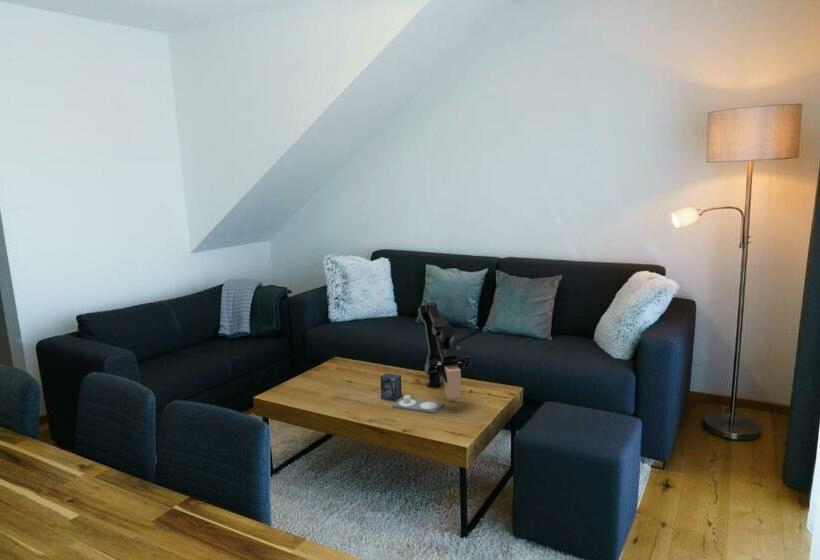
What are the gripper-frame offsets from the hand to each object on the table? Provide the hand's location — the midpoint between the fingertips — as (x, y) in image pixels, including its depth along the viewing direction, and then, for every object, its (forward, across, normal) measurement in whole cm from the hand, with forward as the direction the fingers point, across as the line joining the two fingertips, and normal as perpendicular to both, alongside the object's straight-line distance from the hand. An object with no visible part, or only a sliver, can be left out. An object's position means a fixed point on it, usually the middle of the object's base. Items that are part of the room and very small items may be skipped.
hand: (453, 381), depth 243 cm
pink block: (+4, 0, +6) cm, 7 cm away
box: (-6, -23, +26) cm, 35 cm away
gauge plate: (+2, -14, +16) cm, 21 cm away
